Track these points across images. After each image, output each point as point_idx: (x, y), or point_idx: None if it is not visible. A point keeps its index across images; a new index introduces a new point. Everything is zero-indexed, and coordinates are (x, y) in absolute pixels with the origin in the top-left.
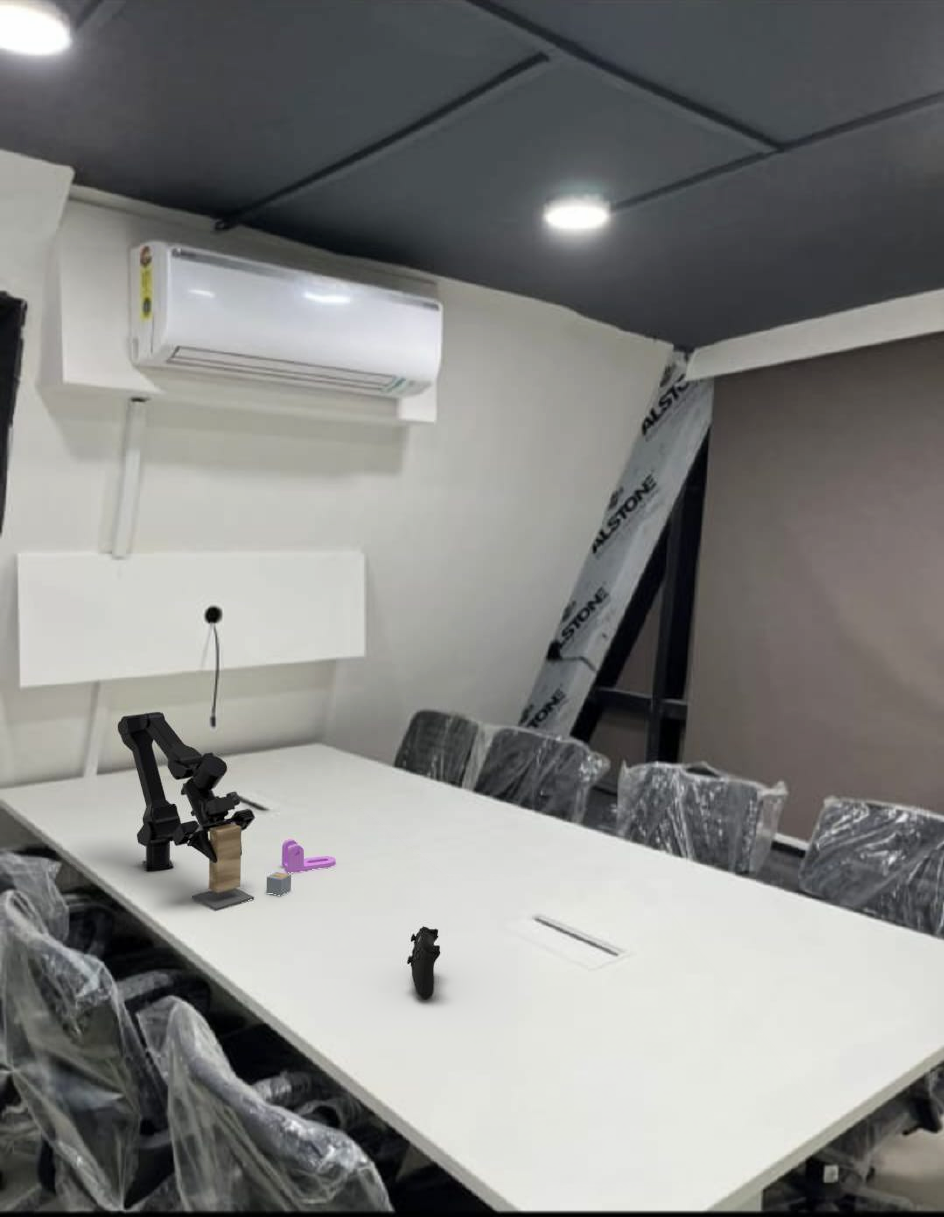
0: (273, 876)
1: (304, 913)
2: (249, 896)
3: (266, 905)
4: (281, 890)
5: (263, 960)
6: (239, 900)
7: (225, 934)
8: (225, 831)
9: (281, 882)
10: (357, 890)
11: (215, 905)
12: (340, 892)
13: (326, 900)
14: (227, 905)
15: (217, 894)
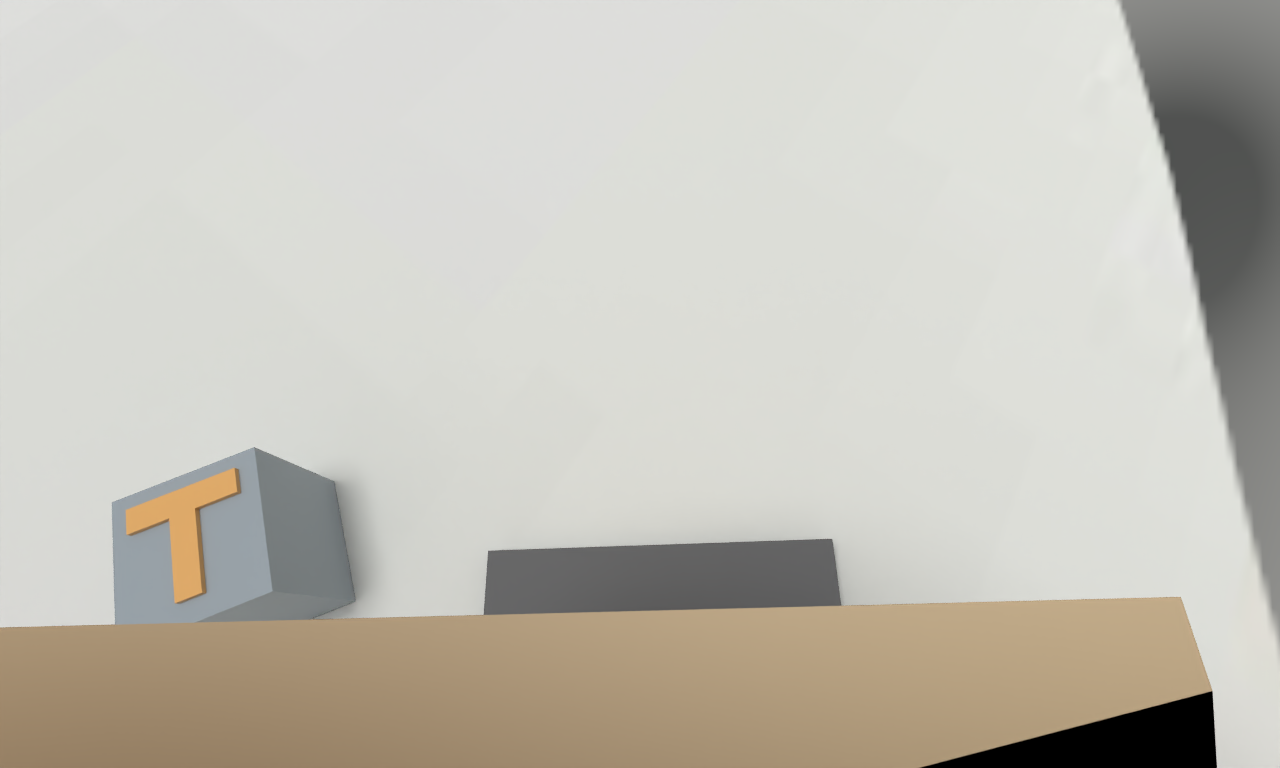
0: (228, 562)
1: (434, 188)
2: (507, 582)
3: (504, 405)
4: (303, 473)
5: None
6: (610, 558)
7: (934, 187)
8: (632, 622)
9: (265, 456)
10: (5, 282)
11: (809, 590)
12: (78, 312)
13: (221, 264)
14: (724, 544)
15: None
